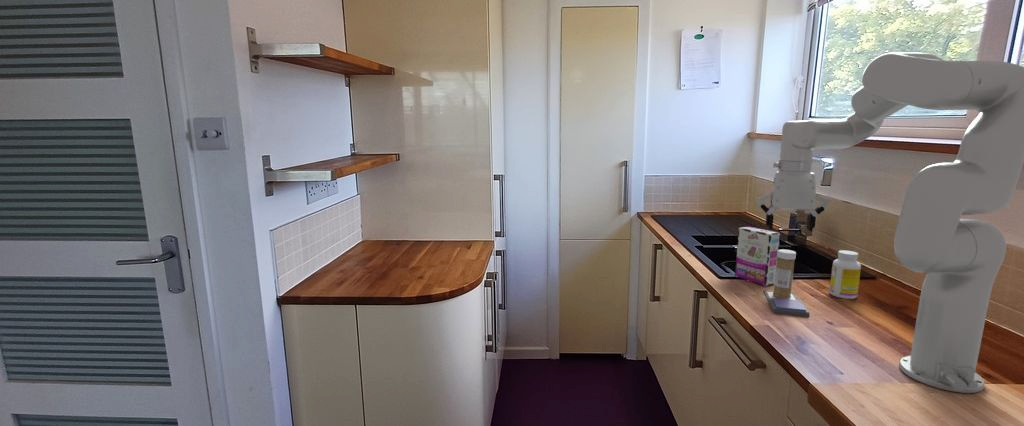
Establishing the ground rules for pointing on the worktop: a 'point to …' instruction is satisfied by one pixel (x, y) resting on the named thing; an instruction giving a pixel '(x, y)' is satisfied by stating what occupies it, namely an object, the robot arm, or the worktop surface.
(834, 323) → the worktop surface
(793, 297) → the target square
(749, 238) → the candy bar box
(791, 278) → the sprinkles bottle
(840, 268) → the supplement bottle
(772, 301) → the ink pad
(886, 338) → the worktop surface
